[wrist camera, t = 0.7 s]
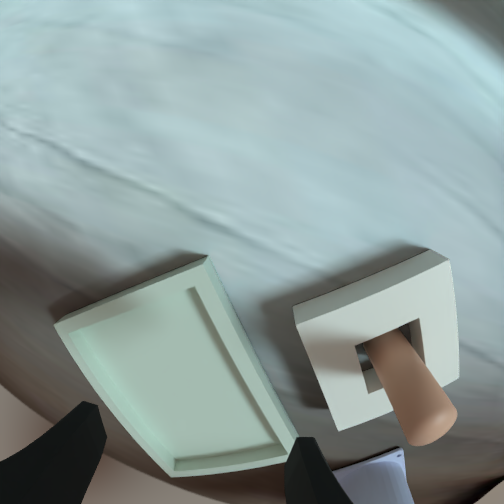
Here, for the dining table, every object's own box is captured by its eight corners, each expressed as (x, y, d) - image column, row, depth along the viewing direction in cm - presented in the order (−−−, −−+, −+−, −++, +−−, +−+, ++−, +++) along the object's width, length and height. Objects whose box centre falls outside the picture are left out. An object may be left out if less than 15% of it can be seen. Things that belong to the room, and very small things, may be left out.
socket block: (445, 360, 20) (459, 377, 17) (333, 409, 21) (338, 431, 19) (430, 249, 18) (449, 259, 15) (292, 306, 19) (295, 325, 17)
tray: (302, 442, 22) (303, 457, 21) (174, 464, 24) (171, 477, 22) (208, 255, 19) (202, 264, 17) (65, 315, 20) (53, 324, 19)
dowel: (402, 346, 20) (455, 429, 11) (367, 361, 20) (408, 453, 11) (395, 315, 19) (458, 397, 10) (359, 331, 19) (405, 423, 11)
